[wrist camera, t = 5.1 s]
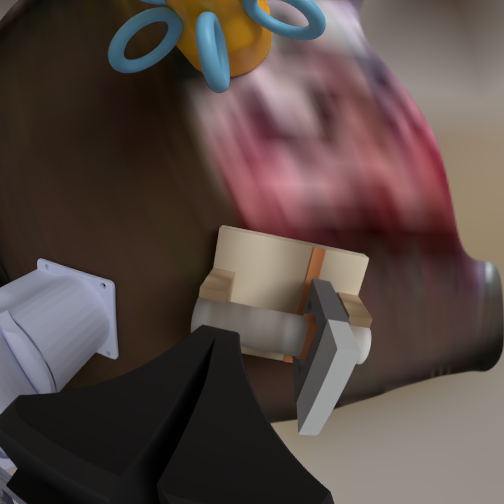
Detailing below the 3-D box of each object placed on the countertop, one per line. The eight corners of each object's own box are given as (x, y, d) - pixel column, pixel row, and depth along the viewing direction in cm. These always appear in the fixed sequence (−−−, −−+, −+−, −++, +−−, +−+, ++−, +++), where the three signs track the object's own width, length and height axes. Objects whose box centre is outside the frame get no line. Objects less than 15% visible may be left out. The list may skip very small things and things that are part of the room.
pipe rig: (206, 337, 21) (185, 385, 15) (222, 225, 19) (199, 245, 13) (328, 359, 21) (340, 410, 15) (364, 254, 18) (396, 284, 13)
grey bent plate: (291, 348, 19) (296, 433, 11) (312, 277, 17) (335, 348, 10) (308, 350, 19) (319, 435, 11) (330, 281, 17) (363, 351, 10)
